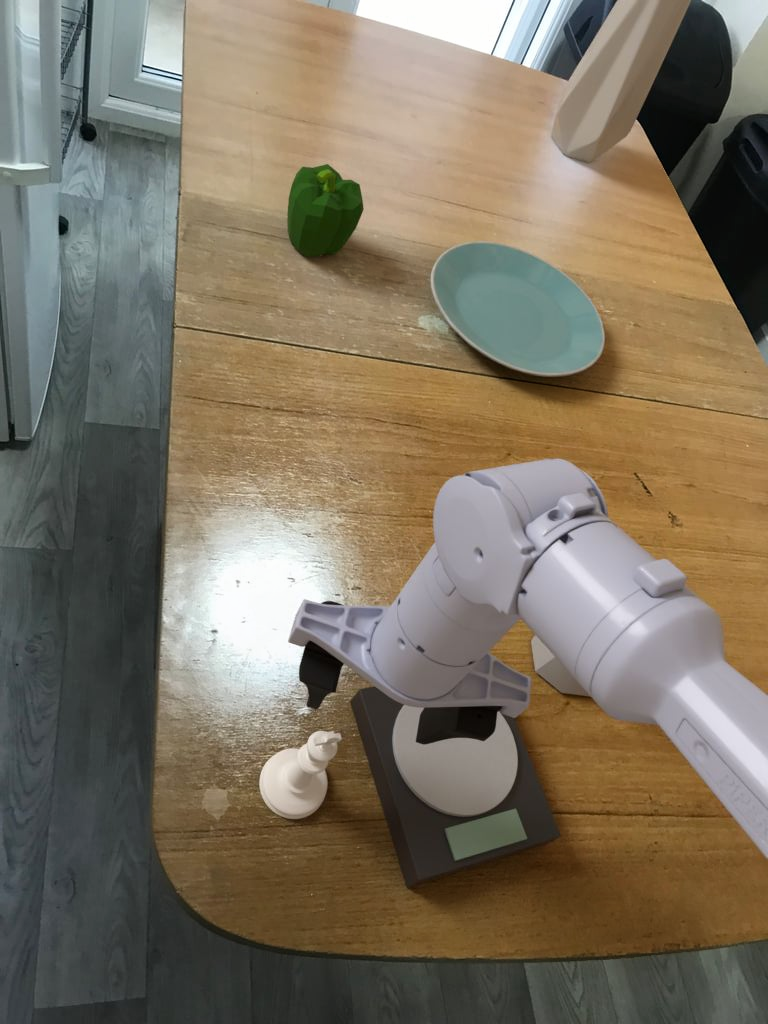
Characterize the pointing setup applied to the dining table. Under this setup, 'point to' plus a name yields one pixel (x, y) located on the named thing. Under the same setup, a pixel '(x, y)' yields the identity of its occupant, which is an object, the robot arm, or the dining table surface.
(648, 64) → the vase
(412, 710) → the scale
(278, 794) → the chess piece
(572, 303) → the plate
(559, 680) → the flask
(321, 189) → the bell pepper
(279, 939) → the dining table surface
